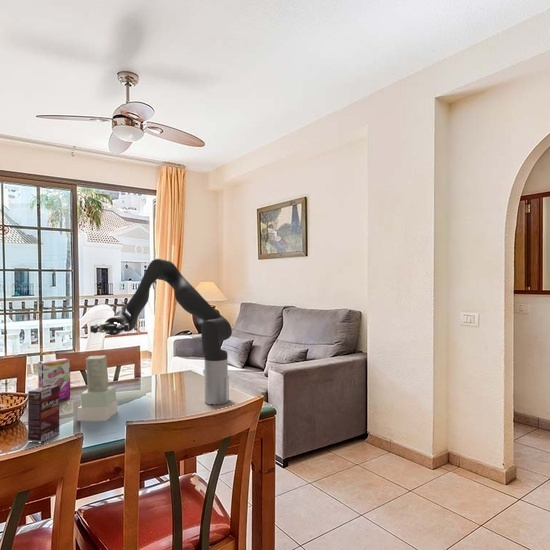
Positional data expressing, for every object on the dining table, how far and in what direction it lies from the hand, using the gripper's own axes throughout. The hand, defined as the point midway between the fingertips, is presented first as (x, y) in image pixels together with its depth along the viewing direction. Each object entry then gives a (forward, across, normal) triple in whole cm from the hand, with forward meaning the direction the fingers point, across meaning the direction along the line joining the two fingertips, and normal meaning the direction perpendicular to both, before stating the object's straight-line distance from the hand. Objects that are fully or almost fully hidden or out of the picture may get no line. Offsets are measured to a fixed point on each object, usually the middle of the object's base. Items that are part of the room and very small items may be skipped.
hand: (105, 330), depth 164 cm
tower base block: (+11, 0, +30) cm, 32 cm away
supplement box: (+29, -11, +30) cm, 44 cm away
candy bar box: (-14, -24, +30) cm, 41 cm away
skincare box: (+11, 0, +20) cm, 23 cm away
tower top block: (+10, 0, +25) cm, 27 cm away
